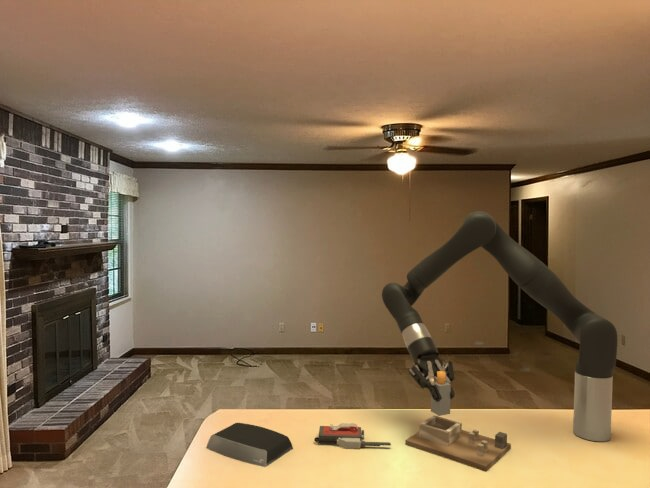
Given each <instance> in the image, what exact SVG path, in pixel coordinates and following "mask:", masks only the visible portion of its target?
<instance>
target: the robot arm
mask: <svg viewBox="0 0 650 488" xmlns="http://www.w3.org/2000/svg"><path fill="white" fill-rule="evenodd" d="M479 248H482V249H483V250H485V251H486V252H487V253H489V254H490V255H491V256H492V257H493V258H494V259H495V260H496V261H497V262H498V264H499V265H500V266H501V268H502V269H503V270H504V271H505V273H506V274H507V275H508V276H509V277H510V279H512V281H513V282H514V283H515V284H516V285H517V286H518V287H519V288H520V289H521V290H522V291H523V292H525V294H527V295H528V297H530V298H531V299H533V300H534V301H535V302H537V304H540V305H541V306H542V307H543V308H545V309H546V310H547V311H549V312H550V313H552V314H553V315H555V316H556V317H557V318H558V320H560V322H561V323H562V324H563V325H564V326H565V327H566V328H567V329H568V330H569V331H570V332H571V334H572V335H573V336H574V337H575V338H576V339H577V340H578V342H579V351H578V352H579V353H578V358H577V359H578V360H576V361H575V363H574V392H573V393H574V394H573V420H572V421H573V424H572V426H573V427H572V432H573V434H574V435H575V436H577V437H579V438H582V439H583V440H587V441H592V442H607V441H610V440H611V435H612V433H611V432H612V409H613V406H612V405H613V381H614V380H613V377H614V369H615V368H616V365H617V353H618V331H617V329H616V326H615V325H614V324H613V323H612V321H610V320H608V319H607V318H605V317H602V316H601V315H599V314H598V313H596V312H594V311H593V310H591V309H590V308H589V307H587V306H586V305H584V303H582V302H581V301H580V300H579V299H577V298H576V297H575V296H574V295H573V293H572V292H571V291H570V290H569V289H568V287H567V286H566V285H565V283H564V282H563V281H562V279H561V278H560V277H559V276H558V275H557V274H556V273H555V271H553V270H551V269H550V268H549V267H548V266H547V265H546V264H545V263H544V262H543V261H541V260H540V259H539V258H537V256H535V254H533V253H531V252H530V251H529V250H528V249H526V248H525V247H523V246H522V245H521V244H519V243H518V242H516V241H515V240H514V238H512V237H511V236H510V235H509V234H508V233H507V232H506V231H505V230H504V229H503V227H501V225H500V224H499V223H498V222H497V221H496V220H495V219H494V217H493V216H492V215H491V214H490V213H488V212H486V211H481V210H477V211H472V212H470V213H469V214H467V215H466V216H465V218H464V220H463V223H462V225H461V226H460V227H459V229H458V230H457V231H456V232H455V234H454V235H453V236H451V238H450V239H449V240H448V241H446V242H445V243H444V244H442V245H441V246H440V247H438V248H437V249H436V250H434V251H433V252H431V253H430V254H428V255H427V256H425V258H423V259H421V261H420V262H418V264H416V265H415V266H413V268H411V270H409V271H408V272H407V274H406V281H407V282H406V283H405V284H404V285H402V284H399V283H396V282H390V283H389V282H388V283H387V284H385V285H384V287H383V288H382V291H381V300H382V301H383V304H384V306H385V307H386V309H387V311H388V312H389V313H390V315H391V317H392V318H393V319H394V320H395V322H396V324H397V326H398V329H399V331H400V333H401V336H402V339H403V341H404V344H405V346H406V349H407V352H408V353H409V356H410V358H411V360H412V362H413V363H414V365H412V367H410V369H409V370H408V374H409V375H410V376H411V377H412V379H414V381H415V382H416V383H417V384H418V385H419V387H420V388H421V389H424V388H425V389H427V390H429V393H430V396H431V395H432V397H433V399H434V400H435V401H436V402H439V401H440V400H441V399H442V397H441V395H440V393H439V391H438V389H437V387H436V386H435V379H436V380H437V371H444V372H446V376H445V382H447V383H449V384H452V382H454V381H455V373H454V371H455V370H454V366H453V361H452V360H449V361H443V359H442V358H441V357H440V356H439V351H438V348H437V346H436V344H435V342H434V340H433V338H432V335H431V334H430V332H429V329H428V328H427V327H426V325H425V324H424V321H423V319H422V318H421V315H420V314H419V312H418V311H417V309H415V308H414V307H413V305H414V304H415V303H416V301H418V299H419V298H420V297H421V295H422V294H423V292H424V291H425V289H427V288H428V287H430V286H431V285H432V284H433V283H435V281H437V280H438V279H439V278H440V277H441V276H443V275H444V274H445V273H446V272H447V271H448V270H449V269H450V268H452V267H453V266H454V265H455V264H456V263H458V262H459V261H461V260H462V259H463V258H465V256H467V255H469V254H470V253H472V252H474V251H475V250H477V249H479ZM434 378H435V379H434ZM455 394H456V393H455V391H454V389H453V387H452V386H451V392H450V401H451V400H453V399H454V398H455Z"/></svg>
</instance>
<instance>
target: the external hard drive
mask: <svg viewBox="0 0 650 488" xmlns="http://www.w3.org/2000/svg"><path fill="white" fill-rule="evenodd" d="M206 449H208V450H210V451H212V452H214V453H217V454H220V455H222V456H225V457H228V458H231V459H234V460H238V461H241V462H244V463H246V464H247V463H248V464H252V465H255V466H259V467H264V468H267V467H268V466H270V465H271V464H272V463H274V462H275V461H277V460H278V459H280V458H281V457H283V456H284V455H285V454H287V453H289V452H290V451H292V450H293V449H294V448H293V444H292V442H291V440H290V438H289V437H288V436H287V435H285V434H283V433H281V432H278V431H276V430H273V429H269V428H266V427H263V426H260V425H259V426H258V425H254V424H249V423H245V422H244V423H243V422H235V423H233V424H231V425H229V426H227V427H225V428H223V429H221V430H219V431H217V432H216V433H213V434H212V435H210V436H209V439H208V442H207V445H206Z"/></svg>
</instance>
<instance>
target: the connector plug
mask: <svg viewBox="0 0 650 488" xmlns="http://www.w3.org/2000/svg"><path fill="white" fill-rule="evenodd" d="M444 371H445V370H444ZM444 371H437V379H436V381H435V380H434V382H435V386H436V387H437V389H438V391H439V393H440V395H441V397H442V399H441V400H440V401H439V402H436V401H435V400H434V399H433V397H432V395H431V394H430V412H432V414H435V416H438V417H441V416H447V415H450V414H451V400H450V392H451V387H452V383H450V384H449V383H447V382H445V376H446V372H444Z"/></svg>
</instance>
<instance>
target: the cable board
mask: <svg viewBox="0 0 650 488" xmlns="http://www.w3.org/2000/svg"><path fill="white" fill-rule="evenodd" d="M418 426H419V429H418V430H419V431H418V432H416V433H414V434H412V435H411V436H409V437H408V438H406V439H405V440H404V441H405V443H404V444H405V446H409V447H412V448H415V449H418V450H422V451H424V452H427V453H430V454H433V455H436V456H439V457H442V458H444V459H448V460H451V461H454V462H457V463H460V464H463V465H466V466H469V467H473V468H475V469H478V470H481V471H484V472H488V470H490V469H491V467H492V466H494V464H496V463H497V462H498V461H499V460H501V458H502V457H503V456H504V455H505V454H506V453H508V451H510V450H511V449H512V444H511V443H509V442H508V433H507V432H502V431H498V432H497V433H496V434H494V438H493V437H489V436H487V435H486V436H485V435H482V434H480V433H479V432H480V430H478V429H472V431H468V430H465V429H463V427H462V422H459V421H456V420H452V419H448V418H446V417H445V418H444V417H441V416H438V415H436V414H435V415H434V414H433V415H432V416H431V417H429V418H427V419H426V420H424V421H422V422H421V423H419V425H418Z"/></svg>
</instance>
